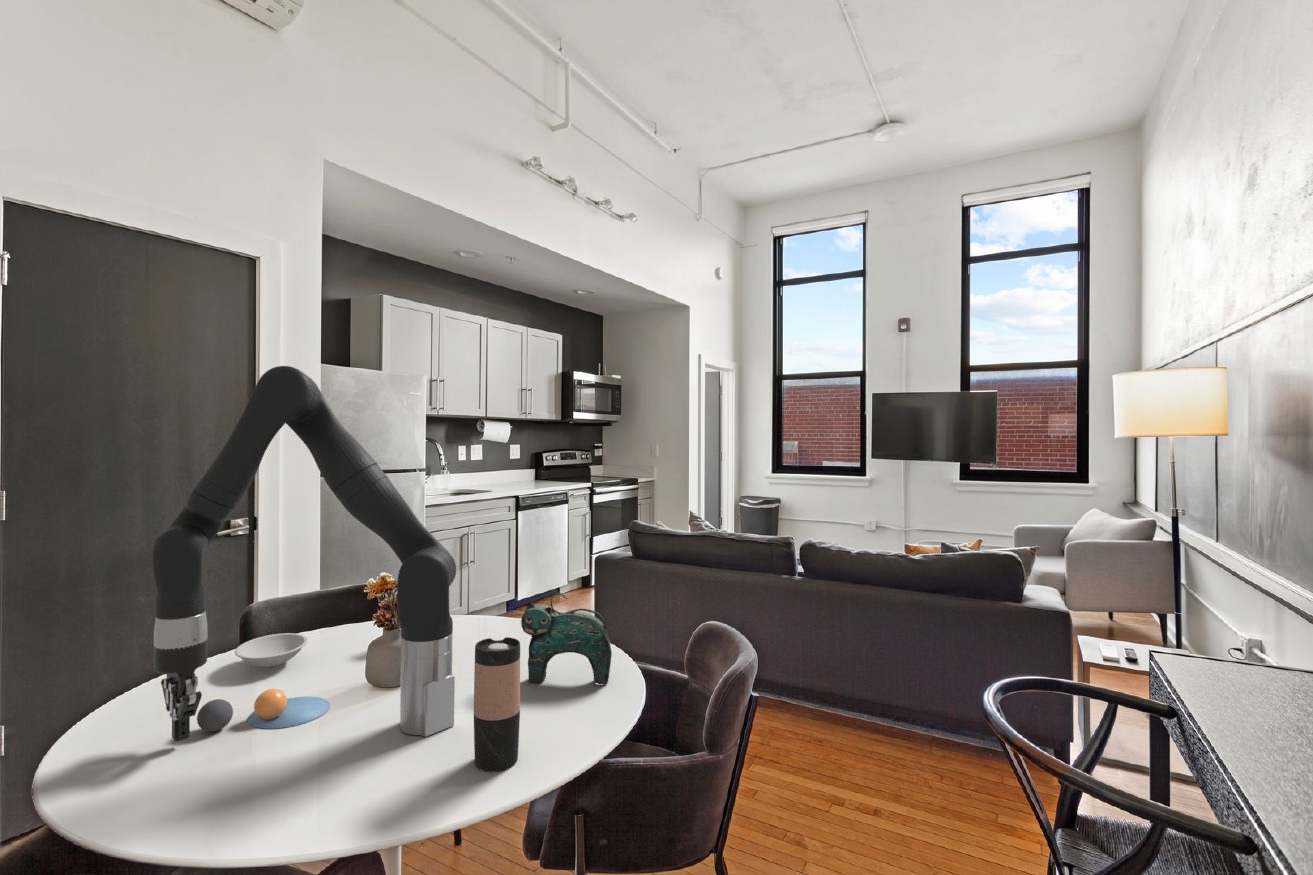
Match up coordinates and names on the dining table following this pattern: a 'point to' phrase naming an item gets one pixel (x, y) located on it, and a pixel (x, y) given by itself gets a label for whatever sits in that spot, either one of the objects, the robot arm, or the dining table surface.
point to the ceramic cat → (565, 639)
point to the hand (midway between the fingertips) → (180, 738)
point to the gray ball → (214, 715)
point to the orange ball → (270, 704)
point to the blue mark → (293, 713)
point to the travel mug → (496, 703)
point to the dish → (271, 649)
